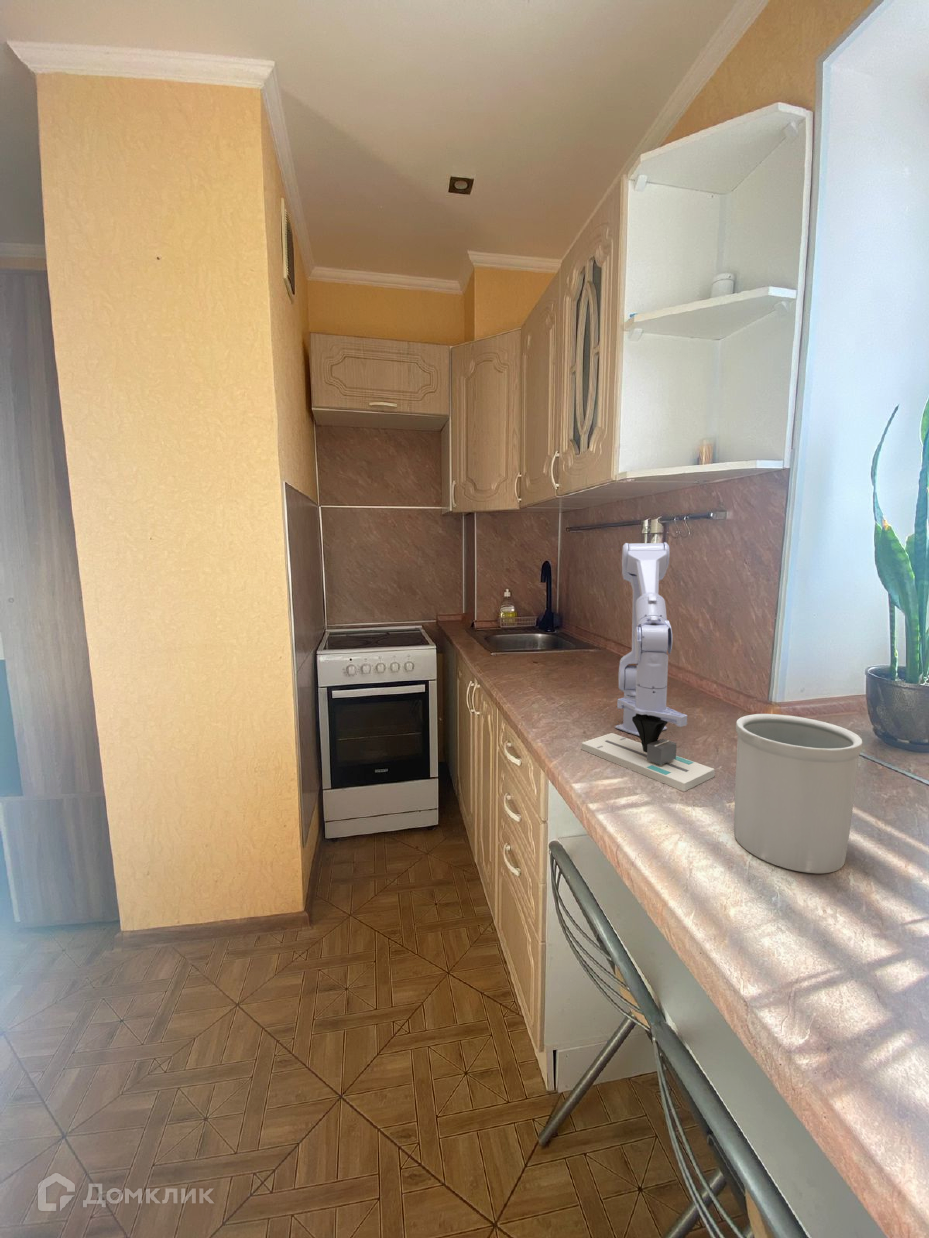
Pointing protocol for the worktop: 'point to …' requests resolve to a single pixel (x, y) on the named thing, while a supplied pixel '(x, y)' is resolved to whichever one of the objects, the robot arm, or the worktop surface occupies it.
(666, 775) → the mixer panel
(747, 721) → the utensil holder
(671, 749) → the fader
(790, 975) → the worktop surface
